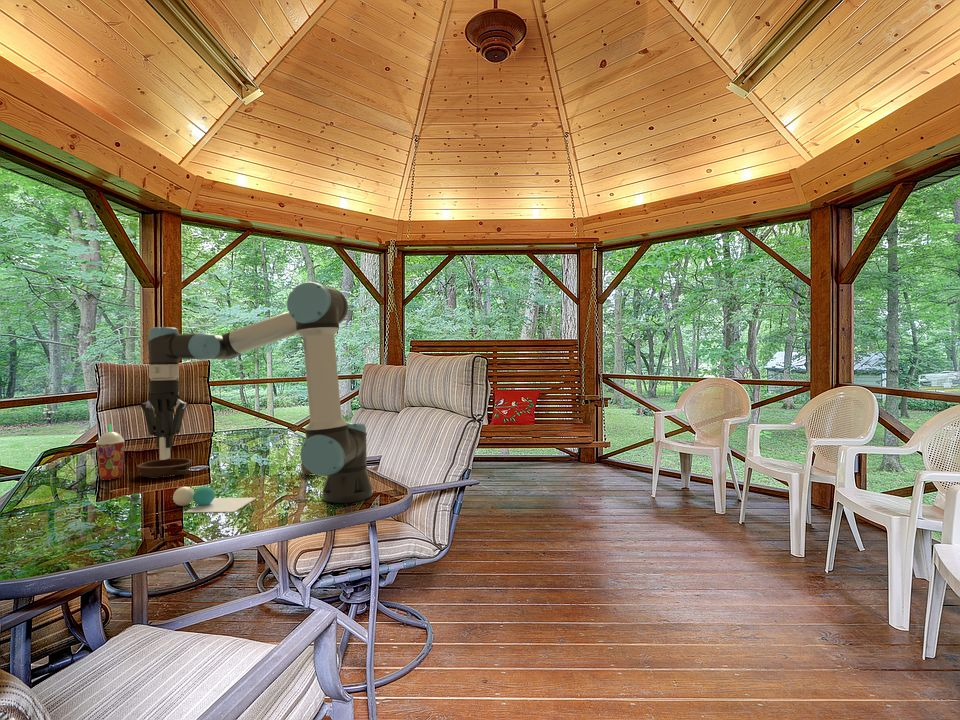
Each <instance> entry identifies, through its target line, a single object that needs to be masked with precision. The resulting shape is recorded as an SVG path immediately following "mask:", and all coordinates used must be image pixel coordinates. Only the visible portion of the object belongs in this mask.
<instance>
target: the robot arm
mask: <svg viewBox="0 0 960 720" xmlns="http://www.w3.org/2000/svg"><path fill="white" fill-rule="evenodd" d="M347 300H348V299H347V298H346V297H345V295H344V294H343V293H342V292H341V291H340V290H338V289H336V288H334V287H329V286H327V285H324V284H323V283H320V282H314V281H306V282H301V283H299V284H297V285H296V286H295V287H294V288H293V289H292V290H291V291H290V292H289V294H288V297H287V299H286V307H287V311H286V312H281V313H280V314H277V315H275V316H274V315H273V316H271V317H268V318H265V319H263V320H260V321H257V322H253V323H250V324H249V325H245V326H244V327H240V328H237V329H233V330H231V331H229V332H226V333H222V334H213V333H203V332H199V333H179V329H178V328H177V327H169V326H156V327H155V326H154V327H151V328H150V329H149V330H148V340H147V345H148V378H149V379H151V380H149V381H148V392H149V397H148V400H147V401H145V402H142V403H141V404H140V408H141V409H142V410H143V413H144V416H145V421H146V425H147V429H148V433H149V436H155V437H156V448H157V449H159V452H158V453H159V460H165V459H171V448H173V447H174V446H173V445H174V439H173V438H174V436H175V435H176V436H177V435H179V434H180V432H181V428H182V423H183V418H184V415H185V410H186V409H187V407H188V406H189V403H188V402H187V401H185V402H184V401H183V400H181V398H180V395H179V391H180V381H179V379H178V378H179V377H180V366H179V363H180V362H179V361H180V360H225V361H226V360H227V361H228V360H233V359H237V358H238V357H239V356H240V355H241V354H242V353H246V352H248V351H251V350H255V349H258V348H260V347H264V346H266V345H268V344H272V343H275V342H279V341H281V340H283V339H287V338H290V337H293V336H295V335H299V336H301V338H302V342H303V344H302V345H303V353H304V365H305V377H306V378H305V379H306V387H307V399H308V401H307V402H308V410H309V412H308V413H309V423H308V424H307V426H306V427H305V428H304V430H305V431H304V432H305V440H304V442H303V444H302V445H301V447H300V448H301V449H300V460H301V462H302V463H303V465H304V466H305V468H306V469H307V470H309V471H310V472H311V473H313V474H315V475H314V476H319V477H326V479H325V482H324V486H323V488H322V492H321V493H322V494H321V495H322V500H323V501H324V502H327V503H333V504H335V503H336V504H348V503H355V502H356V503H357V502H360V501H365V500H368V499H369V498H371V497H372V496H373V486H372V483H371V479H370V476H369V473H368V470H367V435H368V433H367V427H366V425H365V424H364V423H361V422H360V423H359V422H357V423H355V422H353V423H351V422H350V423H349V422H347V421H346V420H344V419H343V417H342V410H341V409H342V406H341V397H340V396H341V395H340V386H339V385H340V384H339V375H338V364H337V351H336V340H335V335H336V334H337V333H338V331H339V330H340V325H339V324H341V323H342V322H343V321H344V320H345V318H346V317H347V315H348V312H349V311H348V310H349V304H348V301H347ZM175 407H176V409H175Z"/></svg>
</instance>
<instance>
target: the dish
mask: <svg viewBox="0 0 960 720" xmlns="http://www.w3.org/2000/svg"><path fill="white" fill-rule="evenodd" d="M191 463H193V459H191V458H190V459H189V458H181V457H180V458H179V457H178V458H177V457H176V458H169V459H165V460H160V459H154V460H149V461H145V462H142V463H140V464H139V463H138V464H137V465H136V468H137V469H138V471H139V473H140V475H141V476H142V477H143V478H144V477H151V478H152V477H163V476H169V475H179V476H181V475H182V476H185V475H187V474H188V473H189V470H190V466H191ZM184 474H185V475H184Z"/></svg>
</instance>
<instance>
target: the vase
mask: <svg viewBox="0 0 960 720" xmlns="http://www.w3.org/2000/svg"><path fill="white" fill-rule="evenodd" d="M300 469H301V472H302V473H303V475H304V474H307V475H309V474H313V473H311V472H310V471H309V470H307V469H306V468H305V466H304V465H303V463H302V461H301V463H300Z"/></svg>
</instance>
